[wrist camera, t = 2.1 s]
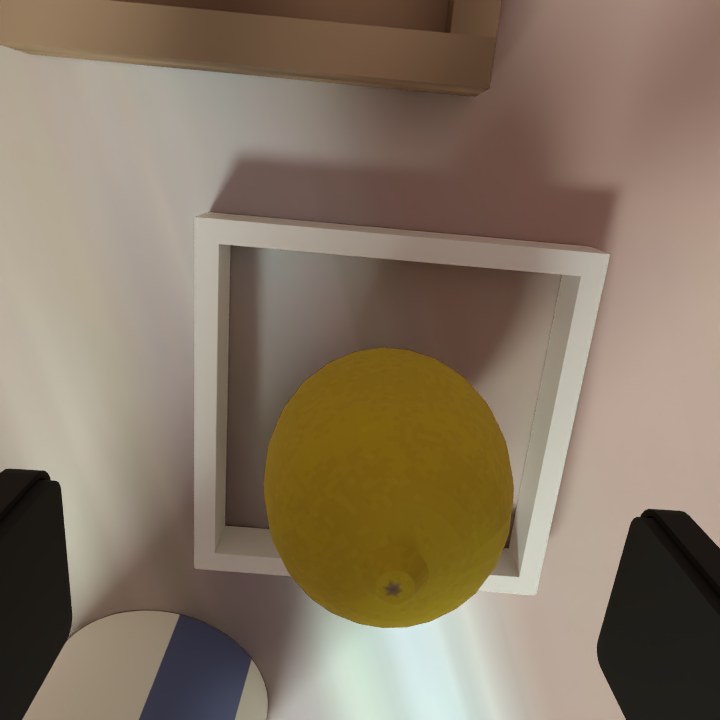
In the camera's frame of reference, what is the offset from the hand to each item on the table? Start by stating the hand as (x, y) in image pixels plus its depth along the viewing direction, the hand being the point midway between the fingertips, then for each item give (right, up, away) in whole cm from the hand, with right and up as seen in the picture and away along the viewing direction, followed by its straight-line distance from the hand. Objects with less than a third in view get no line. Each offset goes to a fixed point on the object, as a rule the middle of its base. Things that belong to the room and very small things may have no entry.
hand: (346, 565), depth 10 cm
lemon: (+1, +2, +8) cm, 8 cm away
